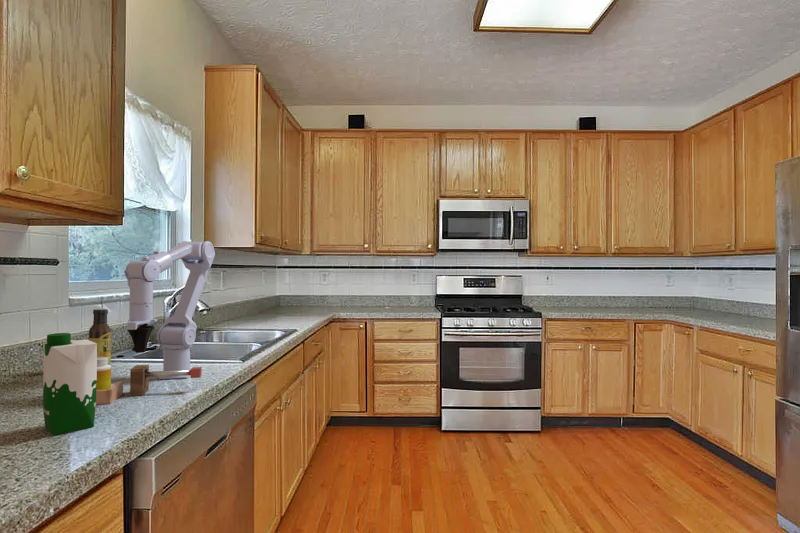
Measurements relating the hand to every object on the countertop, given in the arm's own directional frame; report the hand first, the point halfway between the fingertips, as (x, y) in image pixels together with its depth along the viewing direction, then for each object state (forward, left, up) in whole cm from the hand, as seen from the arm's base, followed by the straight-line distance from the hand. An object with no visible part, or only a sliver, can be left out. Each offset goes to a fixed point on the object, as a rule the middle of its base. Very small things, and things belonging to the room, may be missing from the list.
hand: (140, 352), depth 128 cm
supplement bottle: (+7, -8, -10) cm, 15 cm away
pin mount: (+5, +1, -10) cm, 11 cm away
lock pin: (+5, +8, -6) cm, 12 cm away
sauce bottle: (-27, -20, -10) cm, 35 cm away
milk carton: (+30, -5, -10) cm, 32 cm away
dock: (+9, -8, -10) cm, 16 cm away
